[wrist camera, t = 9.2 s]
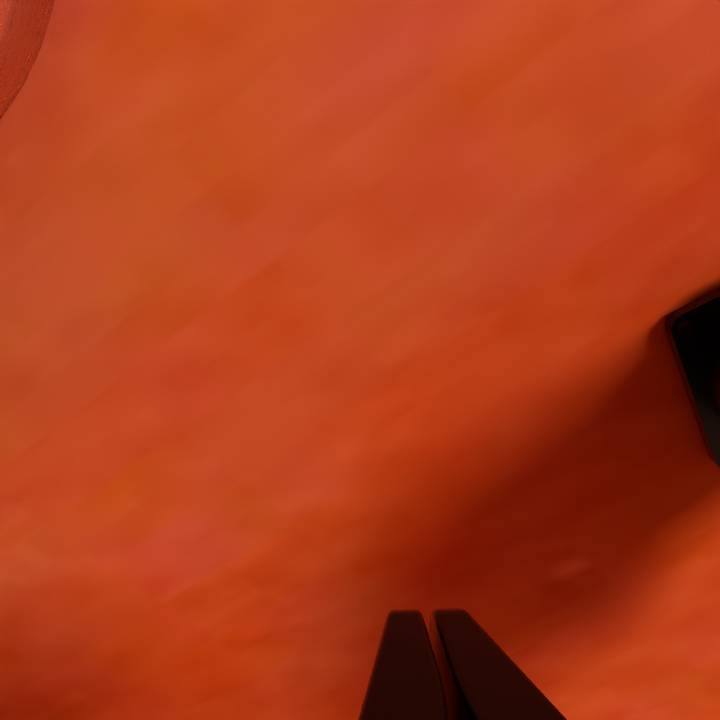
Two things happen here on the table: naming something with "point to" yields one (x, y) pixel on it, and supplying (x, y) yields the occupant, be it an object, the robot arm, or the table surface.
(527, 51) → the table surface
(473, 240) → the table surface
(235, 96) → the table surface
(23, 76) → the pressure pot
